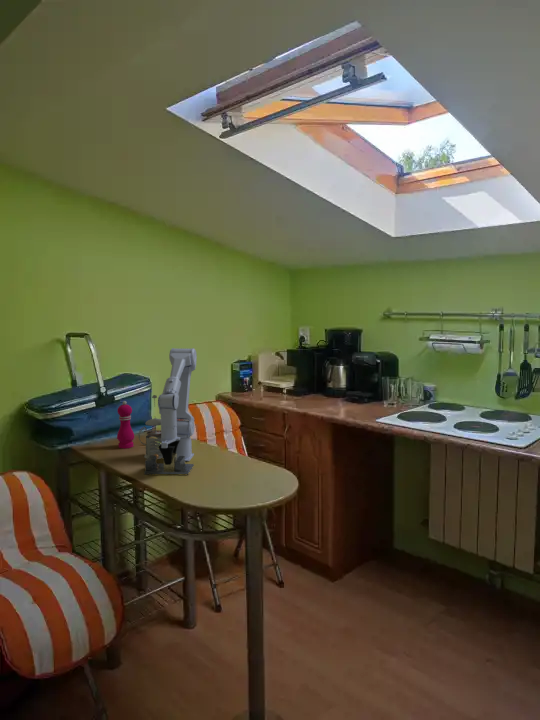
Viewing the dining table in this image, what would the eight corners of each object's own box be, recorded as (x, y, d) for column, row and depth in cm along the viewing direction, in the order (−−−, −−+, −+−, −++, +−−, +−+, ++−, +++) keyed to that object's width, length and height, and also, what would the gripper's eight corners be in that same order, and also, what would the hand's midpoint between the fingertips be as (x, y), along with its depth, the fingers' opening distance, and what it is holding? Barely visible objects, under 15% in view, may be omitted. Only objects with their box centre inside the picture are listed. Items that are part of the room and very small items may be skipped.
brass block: (166, 466, 199) (166, 453, 198) (177, 466, 199) (176, 453, 198) (163, 469, 195) (163, 456, 195) (174, 469, 195) (174, 456, 194)
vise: (152, 465, 203) (151, 454, 202) (193, 466, 202) (193, 454, 201) (144, 474, 193) (143, 462, 192) (187, 475, 192) (187, 462, 191)
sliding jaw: (154, 460, 206) (154, 451, 205) (159, 460, 205) (159, 451, 205) (145, 470, 194) (145, 460, 194) (150, 470, 194) (150, 460, 194)
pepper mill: (116, 445, 231) (114, 400, 229) (133, 443, 234) (131, 399, 232) (118, 449, 225) (117, 403, 223) (136, 447, 228) (134, 401, 226)
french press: (170, 457, 213) (169, 396, 210) (141, 460, 209) (139, 398, 206) (166, 451, 222) (164, 392, 220) (137, 454, 218) (135, 394, 215)
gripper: (174, 430, 188) (175, 468, 189) (184, 421, 202) (184, 456, 204) (155, 430, 188) (156, 467, 190) (165, 421, 203) (166, 456, 204)
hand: (169, 462), depth 197 cm, fingers open, 5 cm apart
